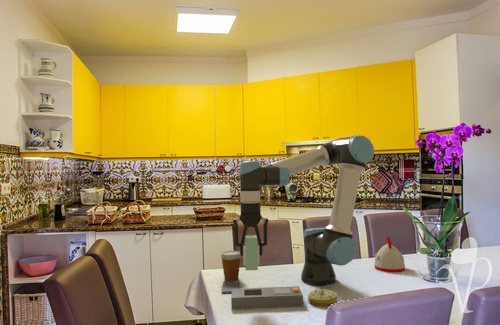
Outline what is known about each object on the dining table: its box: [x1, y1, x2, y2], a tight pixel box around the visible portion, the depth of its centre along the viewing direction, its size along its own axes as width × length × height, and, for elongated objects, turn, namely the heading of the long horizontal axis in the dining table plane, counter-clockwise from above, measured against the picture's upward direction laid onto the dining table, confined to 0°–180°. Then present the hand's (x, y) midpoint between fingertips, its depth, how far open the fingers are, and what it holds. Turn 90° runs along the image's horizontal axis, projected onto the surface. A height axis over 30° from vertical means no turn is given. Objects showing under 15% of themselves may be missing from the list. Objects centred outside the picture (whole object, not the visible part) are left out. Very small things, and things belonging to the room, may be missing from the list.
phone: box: [221, 281, 240, 295], centre depth 152 cm, size 7×13×1 cm, turn 1°
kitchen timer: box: [374, 236, 406, 274], centre depth 175 cm, size 14×14×15 cm
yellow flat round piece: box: [307, 288, 338, 307], centre depth 134 cm, size 10×11×4 cm
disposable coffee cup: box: [220, 250, 242, 282], centre depth 165 cm, size 10×10×12 cm
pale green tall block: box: [244, 234, 259, 271], centre depth 135 cm, size 4×4×12 cm
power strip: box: [230, 285, 304, 310], centre depth 135 cm, size 26×10×5 cm, turn 91°
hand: (251, 264), depth 135 cm, fingers closed on pale green tall block, 4 cm apart
